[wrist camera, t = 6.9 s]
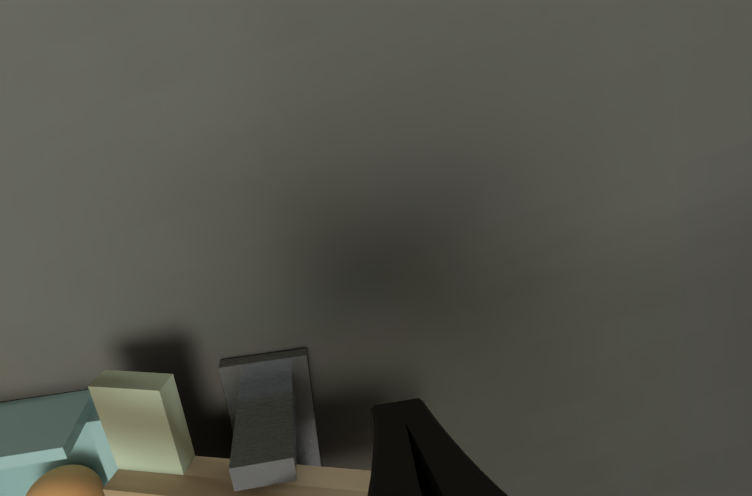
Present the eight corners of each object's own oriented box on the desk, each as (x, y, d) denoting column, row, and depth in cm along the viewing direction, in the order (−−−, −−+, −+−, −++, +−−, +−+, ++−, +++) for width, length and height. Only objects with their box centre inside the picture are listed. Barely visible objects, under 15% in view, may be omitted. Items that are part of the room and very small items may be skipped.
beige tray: (428, 559, 21) (425, 621, 19) (159, 530, 23) (128, 583, 21) (426, 388, 18) (422, 440, 15) (104, 369, 20) (59, 414, 17)
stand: (325, 499, 27) (334, 604, 22) (253, 513, 27) (246, 623, 22) (305, 347, 23) (311, 434, 18) (220, 359, 23) (201, 452, 18)
